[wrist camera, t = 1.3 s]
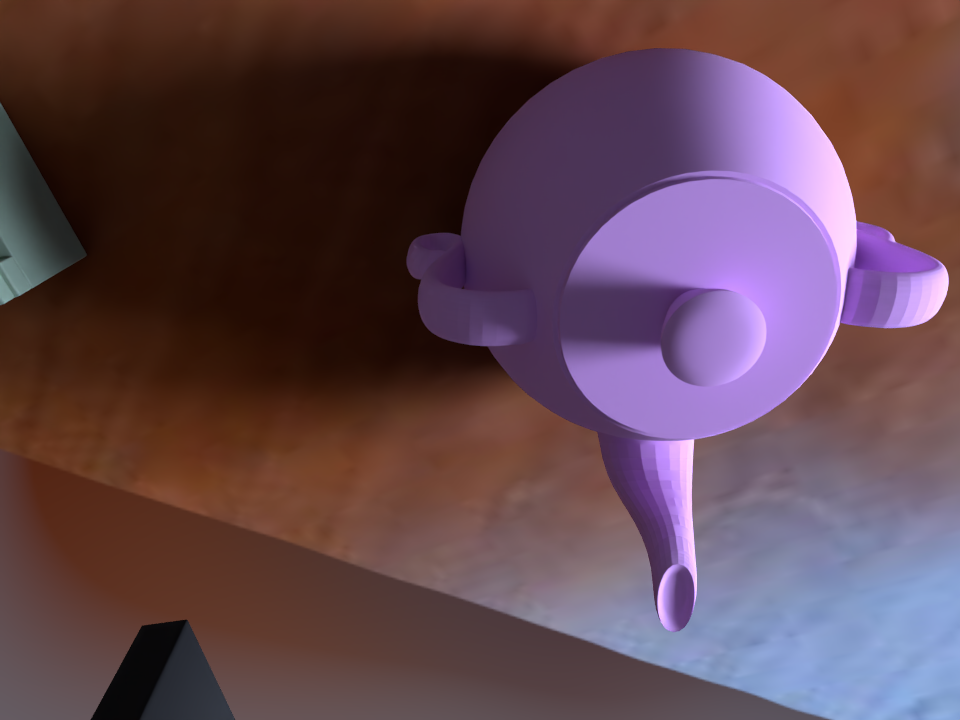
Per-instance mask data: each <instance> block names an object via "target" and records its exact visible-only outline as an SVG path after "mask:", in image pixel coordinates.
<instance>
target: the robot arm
mask: <svg viewBox="0 0 960 720" xmlns="http://www.w3.org/2000/svg"><path fill="white" fill-rule="evenodd" d="M91 720H235V718H234V716H233V714H232V712H231V710H230V708H229V706H228V704H227V702H226V700H225V698H224V695H223V693H222V691H221V689H220V687H219V685H218V683H217V681H216V679H215V677H214V674H213V672H212V670H211V668H210V666H209V664H208V662H207V660H206V658H205V656H204V654H203V652H202V649H201V647H200V645H199V643H198V641H197V639H196V637H195V635H194V633H193V631H192V629H191V627H190V624H189V622H188V620H180V621H173V622H166V623H159V624H151V625H144V626H142V627H141V629H140V630H139V632H138V634H137V636H136V638H135V640H134V641H133V643H132V645H131V647H130V649H129V651H128V652H127V654H126V656H125V658H124V660H123V662H122V663H121V665H120V667H119V669H118V671H117V673H116V674H115V676H114V678H113V680H112V682H111V684H110V686H109V687H108V689H107V691H106V693H105V695H104V696H103V698H102V700H101V702H100V704H99V706H98V708H97V709H96V711H95V713H94V715H93V717H92V719H91Z"/></svg>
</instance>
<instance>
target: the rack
mask: <svg viewBox="0 0 960 720" xmlns="http://www.w3.org/2000/svg"><path fill="white" fill-rule="evenodd" d="M86 256H87V254H86V252H85V250H84V248H83V247H82V245H81V243H80V241H79V240H78V238H77V236H76V234H75V233H74V231H73V229H72V227H71V226H70V224H69V222H68V220H67V219H66V217H65V215H64V213H63V212H62V210H61V208H60V206H59V205H58V203H57V201H56V199H55V198H54V196H53V194H52V192H51V191H50V189H49V187H48V185H47V184H46V182H45V180H44V178H43V177H42V175H41V173H40V171H39V169H38V168H37V166H36V164H35V162H34V161H33V159H32V157H31V155H30V154H29V152H28V150H27V148H26V147H25V145H24V143H23V141H22V140H21V138H20V136H19V134H18V133H17V131H16V129H15V127H14V126H13V124H12V122H11V120H10V119H9V117H8V115H7V113H6V112H5V110H4V108H3V106H2V105H1V103H0V305H2V304H5V303H7V302H8V301H10V300H12V299H13V298H15V297H18V296H20V295H22V294H24V293H25V292H27V291H29V290H30V289H32V288H34V287H35V286H37V285H39V284H40V283H42V282H44V281H46V280H47V279H49V278H51V277H52V276H54V275H56V274H57V273H59V272H61V271H62V270H64V269H66V268H67V267H69V266H71V265H72V264H74V263H76V262H77V261H79V260H81V259H82V258H84V257H86Z"/></svg>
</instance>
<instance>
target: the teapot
mask: <svg viewBox="0 0 960 720" xmlns="http://www.w3.org/2000/svg"><path fill="white" fill-rule="evenodd" d="M407 267H408V270H409V272H410V274H411V275H412V277H414V278H416V279H421V282H420V285H419V290H418V308H419V312H420V316H421V319H422V321H423V323H424V324H425V326H426V327H427V328H428V329H429V330H430V331H431V332H432V333H433V334H435V335H437V336H439V337H441V338H443V339H446V340H449V341H453V342H457V343H462V344H468V345H476V346H488V348H489V349H490V351H491V353H492V354H493V356H494V357H495V359H496V360H497V361H498V362H499V364H500V365H501V366H502V367H503V369H504V370H505V371H506V372H507V374H508V375H509V376H510V377H511V379H512V380H513V381H514V382H515V383H516V384H517V385H518V386H519V387H521V388H522V389H523V390H524V391H525V392H526V393H527V394H528V395H529V396H531V397H532V398H533V399H535V400H536V401H537V402H539V403H540V404H542V405H543V406H544V407H546V408H547V409H549V410H550V411H552V412H553V413H555V414H557V415H559V416H561V417H563V418H565V419H566V420H568V421H570V422H572V423H575V424H577V425H580V426H582V427H585V428H588V429H590V430H594V431H597V432H598V437H599V442H600V447H601V452H602V457H603V461H604V464H605V467H606V471H607V474H608V476H609V478H610V480H611V482H612V485H613V487H614V489H615V490H616V492H617V494H618V496H619V497H620V499H621V501H622V502H623V504H624V505H625V507H626V509H627V510H628V512H629V514H630V515H631V517H632V519H633V520H634V522H635V524H636V526H637V528H638V530H639V532H640V534H641V536H642V539H643V541H644V544H645V547H646V550H647V553H648V557H649V561H650V565H651V571H652V580H653V590H654V599H655V605H656V610H657V613H658V616H659V619H660V621H661V623H662V624H663V626H664V627H665V628H666V629H667V630H668V631H672V632H676V631H680V630H681V629H683V628H684V627H685V626H686V624H687V623H688V621H689V619H690V617H691V615H692V612H693V608H694V604H695V598H696V591H697V573H696V561H695V548H694V535H693V520H692V465H693V444H694V439H700V438H704V437H709V436H714V435H718V434H721V433H724V432H727V431H730V430H733V429H736V428H738V427H740V426H743V425H745V424H747V423H749V422H752V421H754V420H755V419H757V418H759V417H761V416H762V415H764V414H766V413H767V412H769V411H771V410H772V409H773V408H775V407H776V406H777V405H779V404H780V403H782V402H783V401H784V400H785V399H787V398H788V397H789V396H790V395H791V394H792V393H793V392H794V391H795V390H797V389H798V388H799V387H800V386H801V385H802V384H803V382H804V381H805V380H806V379H807V378H808V377H809V376H810V375H811V373H812V372H813V371H814V370H815V368H816V367H817V365H818V364H819V363H820V361H821V360H822V358H823V357H824V355H825V353H826V352H827V350H828V348H829V346H830V344H831V343H832V341H833V339H834V336H835V334H836V331H837V329H838V326H839V324H840V323H845V324H849V325H857V326H865V327H877V328H900V327H909V326H914V325H918V324H921V323H924V322H926V321H928V320H929V319H931V318H932V317H933V316H934V315H935V314H936V313H937V312H938V310H939V309H940V307H941V305H942V303H943V301H944V299H945V296H946V293H947V289H948V274H947V270H946V268H945V267H944V265H943V264H942V263H941V262H939V261H938V260H937V259H935V258H933V257H931V256H929V255H927V254H925V253H922V252H920V251H918V250H915V249H912V248H910V247H907V246H904V245H901V244H899V243H896V242H895V240H894V238H893V235H892V234H891V233H890V232H889V231H887V230H885V229H883V228H881V227H878V226H875V225H871V224H867V223H862V222H857V221H856V217H855V211H854V205H853V199H852V195H851V191H850V187H849V184H848V181H847V178H846V175H845V172H844V169H843V166H842V163H841V161H840V159H839V157H838V155H837V153H836V152H835V150H834V148H833V146H832V144H831V142H830V141H829V139H828V138H827V136H826V135H825V133H824V132H823V131H822V129H821V128H820V126H819V125H818V124H817V122H816V121H815V119H814V118H813V117H812V115H811V114H810V113H809V112H808V111H807V110H806V109H805V108H804V107H803V106H802V105H801V104H800V103H799V102H798V101H797V100H796V99H795V98H794V97H793V96H792V95H791V94H790V93H788V92H787V91H786V90H785V89H783V88H782V87H781V86H779V85H778V84H777V83H775V82H774V81H772V80H771V79H770V78H768V77H767V76H765V75H764V74H762V73H760V72H758V71H756V70H754V69H752V68H750V67H748V66H746V65H744V64H742V63H739V62H736V61H733V60H730V59H727V58H724V57H721V56H718V55H714V54H710V53H705V52H699V51H693V50H687V49H665V48H654V49H645V50H637V51H628V52H624V53H620V54H616V55H612V56H609V57H605V58H601V59H598V60H596V61H593V62H591V63H589V64H586V65H584V66H581V67H579V68H576V69H574V70H572V71H571V72H569V73H567V74H565V75H564V76H562V77H560V78H558V79H557V80H555V81H553V82H552V83H550V84H549V85H547V86H546V87H545V88H544V89H542V90H541V91H540V92H538V93H537V94H536V95H534V96H533V97H532V98H530V99H529V100H528V101H527V102H526V103H525V104H524V105H523V106H522V107H521V108H520V109H519V110H518V111H517V112H516V113H515V114H514V115H513V116H512V117H511V118H510V119H509V121H508V122H507V123H506V124H505V126H504V127H503V128H502V129H501V131H500V132H499V133H498V135H497V136H496V137H495V138H494V140H493V142H492V143H491V145H490V147H489V148H488V150H487V152H486V154H485V155H484V157H483V159H482V160H481V163H480V165H479V167H478V169H477V172H476V174H475V176H474V179H473V181H472V183H471V187H470V190H469V194H468V197H467V201H466V204H465V208H464V215H463V221H462V228H461V236H459V235H457V234H452V233H433V234H427V235H422V236H419V237H417V238H416V239H415V240H414V241H413V242H412V244H411V245H410V247H409V250H408V255H407ZM463 286H464V289H462V287H463Z"/></svg>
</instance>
